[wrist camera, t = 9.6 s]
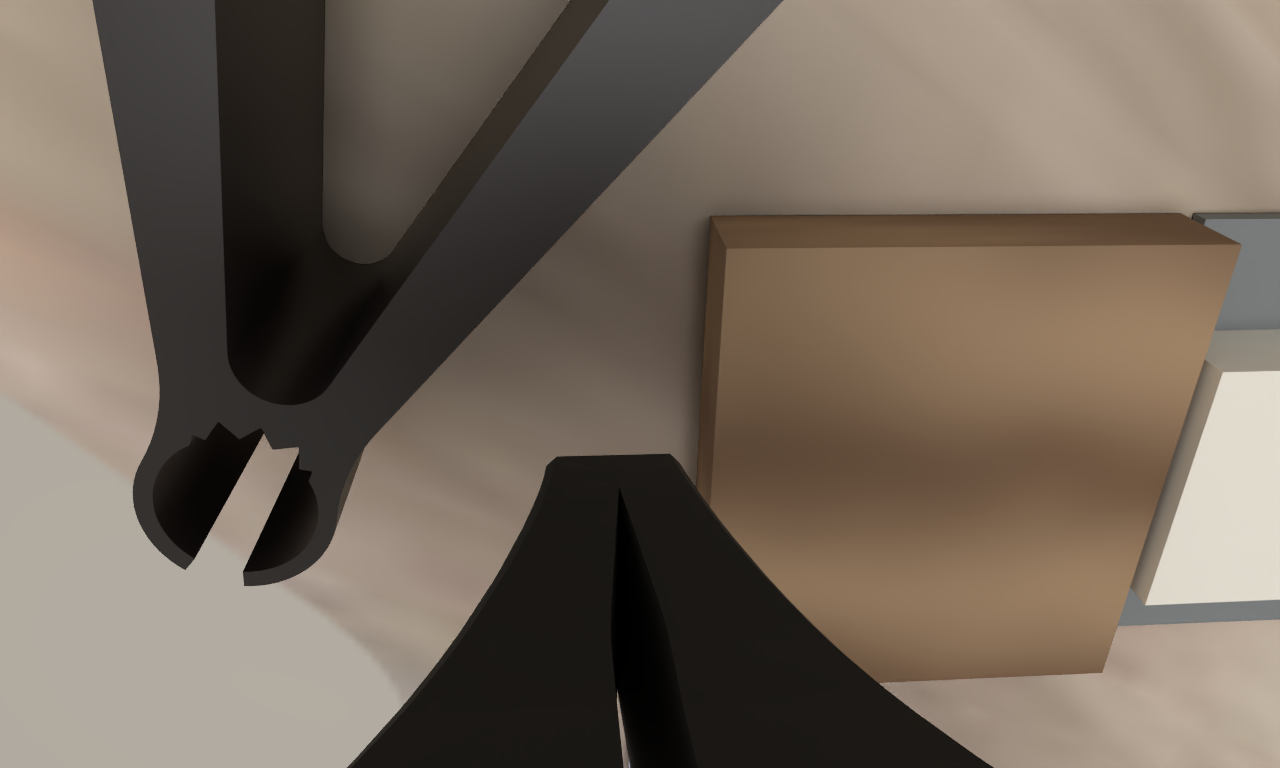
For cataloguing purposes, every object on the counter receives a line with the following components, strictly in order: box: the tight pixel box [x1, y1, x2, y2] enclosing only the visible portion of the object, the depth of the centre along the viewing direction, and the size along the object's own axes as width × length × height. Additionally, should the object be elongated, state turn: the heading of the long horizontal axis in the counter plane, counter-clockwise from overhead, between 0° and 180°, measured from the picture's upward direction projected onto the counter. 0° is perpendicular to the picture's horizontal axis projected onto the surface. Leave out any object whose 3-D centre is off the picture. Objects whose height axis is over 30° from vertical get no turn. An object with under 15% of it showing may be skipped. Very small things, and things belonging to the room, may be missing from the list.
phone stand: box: [93, 0, 783, 586], centre depth 15 cm, size 9×6×12 cm
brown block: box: [696, 214, 1242, 683], centre depth 21 cm, size 11×10×2 cm
